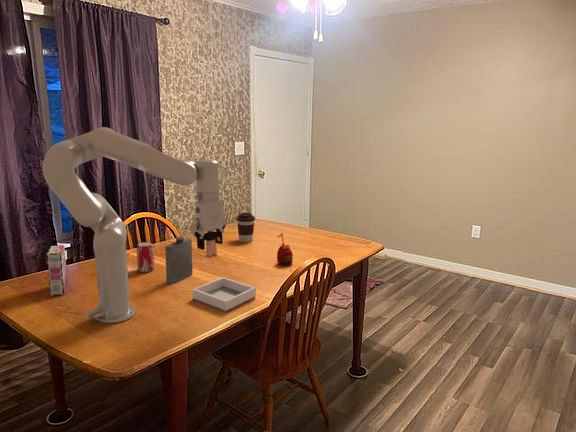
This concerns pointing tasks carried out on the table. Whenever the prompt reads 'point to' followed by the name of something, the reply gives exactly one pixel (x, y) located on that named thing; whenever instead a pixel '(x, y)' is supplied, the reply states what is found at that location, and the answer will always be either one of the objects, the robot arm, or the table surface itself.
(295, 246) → the table surface
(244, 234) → the coffee cup
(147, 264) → the soda can
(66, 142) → the robot arm
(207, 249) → the grandmother figurine
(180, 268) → the flask
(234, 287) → the shadow box frame
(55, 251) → the candy bar box
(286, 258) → the dark red rounded piece
